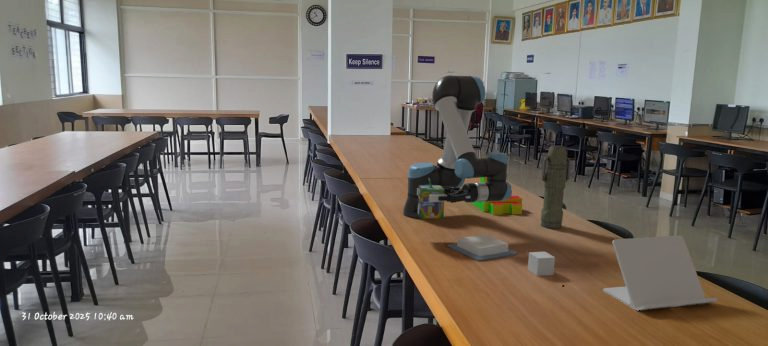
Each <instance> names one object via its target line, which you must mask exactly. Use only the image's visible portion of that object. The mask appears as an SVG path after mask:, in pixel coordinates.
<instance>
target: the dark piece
mask: <svg viewBox="0 0 768 346" xmlns="http://www.w3.org/2000/svg"><path fill="white" fill-rule="evenodd" d="M567 153H568V152H567V148H566V146H564V145H555V144H554V145H551V146H550V147H549V149H548V153H547V156H544V157H543V159H542V165H541V166H542V167H541V181H542V182H543V187H544V194H543V204H542V209H541V215H540V226H541V227H543V228H545V229H549V230H550V229H552V230H559V229H560V230H561V229H562V223H563V219H564V218H563V216H564V211H563V203H564V192H565V188H566V184H567V182H568V181H569V180H570V171H571V162H572V161H571V159H570V157H567V155H568V154H567Z"/></svg>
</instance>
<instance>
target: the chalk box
mask: <svg viewBox="0 0 768 346" xmlns="http://www.w3.org/2000/svg"><path fill="white" fill-rule="evenodd" d="M428 180H429V184H430V185H419V192H418V215H419V217H420V218H419V219H421V220H422V219H424V220H425V219H430V220H431V219H433V220H434V219H442V220H444V213H445V202H429V195H435V194H444V191H445V190H444V188H443V187H442V186H440V185H431V181H430V179H429V178H428Z"/></svg>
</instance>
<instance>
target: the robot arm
mask: <svg viewBox="0 0 768 346" xmlns="http://www.w3.org/2000/svg"><path fill="white" fill-rule="evenodd" d="M431 95H432V102H433V106H434V108H435V110H436V111H438V113H439V116H440V117H441V118H440V119H441V121H442V123H443V126H444V129H445V131H446V136H445V141H444V146H443V150H442V156H441V157H440V158H438V159H437V163H436V165H435V164H434V163H433V162H428V161H427V162H418V163H417V162H416V163H413V164H411V165H410V166H409V167H408V174H407V198H406V200H405V203H404V206H403V208H402V214H403V215H404V216H405V217H408V218H409V217H410V218H414V219H415V218H416V219H420V217H419V215H418V192H419V185H430V184H429V180H428V178H429V179H430V181H431V185H440V186H442V187H443V188H444V190H445V191H444V194H435V195H429V202H444V203H445V202H447V203H451V204H452V203H453V204H454V203H459V202H465V203H468V204H469V203H471V202H479V203H481V201H483V202H484V201H503V200H508V199H509V198H510V197H511V196H513V195H512V194H513V189H512V186H511V183H509V182H508V181H507V172H508V154H506V153H505V152H501V151H498V152H497V151H493V152H489V153H488V156H487V157H484V158H479V157H478V156H477V155H476V152H475V150H474V146H473V144H472V142H471V139H470V136H469V134H468V130H469V126H470V121H471V116H472V113H473V112H475V111H476V110H477V107H478V105H480V104H482V102H484V100H485V97H486V87H485V85H484V82H483V80H482V79H481V78H480V77H478V76H473V75H452V74H451V75H446V76H442V77H441V78H439V79H438V80H437V82H436V83H435V84H434V87H433V90H432V94H431ZM481 177H487V183H480V182H472V183H470V182H467V183H465V181H466V179H468V180H469V179H470V180H471V179H475V178H481Z"/></svg>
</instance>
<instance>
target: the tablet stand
mask: <svg viewBox="0 0 768 346" xmlns="http://www.w3.org/2000/svg"><path fill="white" fill-rule="evenodd" d="M611 243H612V246H613V249H614V253H615V256H616V259H617V262H618V266H619V269H620V271H621V276H622V278H623V282H624V285H625V286H616V287H606V288H602V291H603V292H604V293H605V294H607V295H609V296H610V295H611V296H610V297H612V298H614V299H615V298H616V300H617V299H618V300H617V301H619V300H620V301H619V302H621V303H622V302H623V304H624V305H626V306H627V305H628V306H627V307H629V306H630V307H629V308H631V309H633V310H634V309H635V310H634V311H636V310H637V312H638V311H639V310H640V311H649V310H656V309H657V310H658V309H667V308H668V307H669V308H675V307H676V308H677V307H686V306H687V305H688V306H696V304H697V305H705V304H706V303H707V304H711V303H715V302H718V298H717V297H708V298H706V295H705V292H704V290H703V287H702V284H701V282H700V278H699V277H698V274H697V273H698V272H697V269H696V268H695V266H694V263H693V260H692V257H691V254H690V252H689V249H688V246H687V243H686V240H685V238H684V236H683V235H679V234H678V235H667V236H663V235H662V236H647V237H634V238H615V239H613V240H612V242H611ZM648 309H649V310H648Z"/></svg>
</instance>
